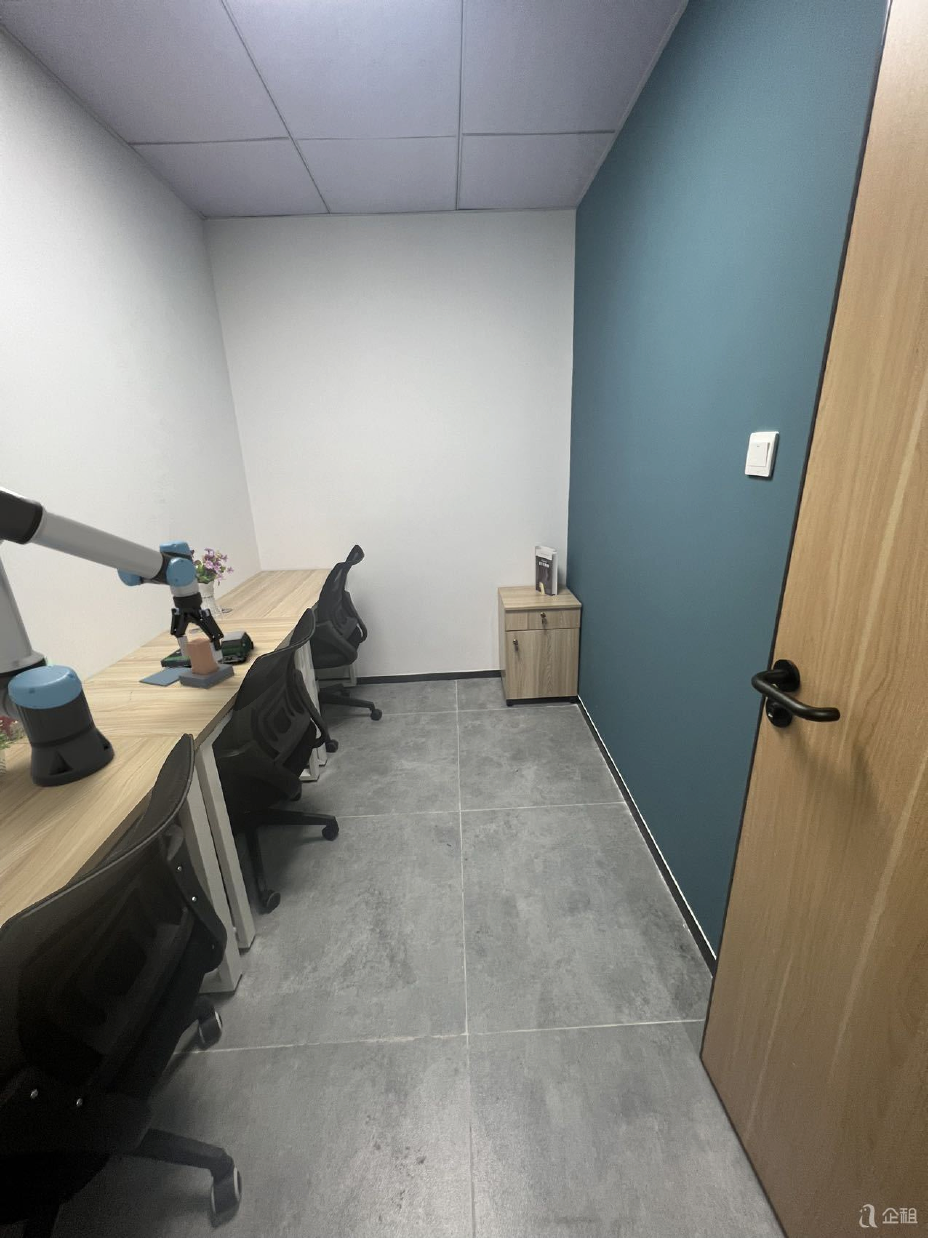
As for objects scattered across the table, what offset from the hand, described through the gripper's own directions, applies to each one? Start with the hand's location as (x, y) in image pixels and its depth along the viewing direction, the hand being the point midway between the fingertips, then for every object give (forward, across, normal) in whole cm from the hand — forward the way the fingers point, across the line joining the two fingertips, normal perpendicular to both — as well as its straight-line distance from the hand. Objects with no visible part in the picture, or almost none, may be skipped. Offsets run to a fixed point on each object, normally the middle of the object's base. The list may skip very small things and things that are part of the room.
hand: (202, 658), depth 153 cm
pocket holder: (+7, 0, 0) cm, 7 cm away
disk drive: (+7, +21, -10) cm, 24 cm away
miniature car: (+8, +6, -18) cm, 20 cm away
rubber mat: (+7, +15, +2) cm, 17 cm away
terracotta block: (+7, 0, 0) cm, 7 cm away
